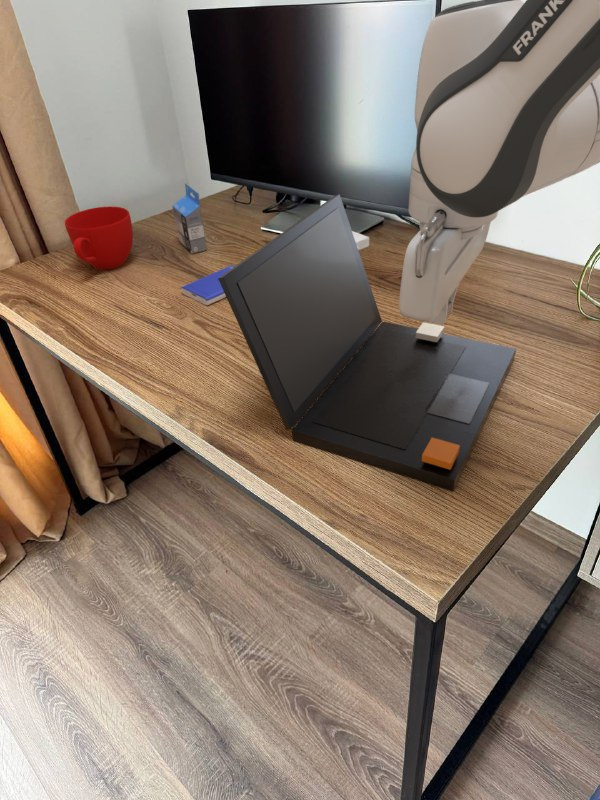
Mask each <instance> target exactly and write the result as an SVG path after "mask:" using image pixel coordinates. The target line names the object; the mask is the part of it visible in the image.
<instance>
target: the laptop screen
mask: <svg viewBox="0 0 600 800" xmlns="http://www.w3.org/2000/svg"><path fill="white" fill-rule="evenodd" d="M352 231H353V230H352V227H351V224H350V221H349V217H348V216H347V212H346V209H345V206H344V203H343V200H342V197H341V194H340V193H338V194H335V195H333V196H332V197H331V198H329V199H328V200H326V201H325V202H324V203H322V204H321V205H319V206H318V207H316V208H315V209H314V210H312V211H311V212H310V213H308V214H307V215H305V216H303V218H301V219H300V220H298V221H297V222H295V223H294V224H292V225H291V226H290V227H288V228H287V229H286V230H284V231H283V232H281V233H280V234H278V235H277V236H276V237H274V238H273V239H272V240H269V242H267V243H265V244H264V245H263V246H261V247H260V248H259V249H257V250H256V251H254V252H253V253H252V254H250V255H249V256H247V257H246V258H245V259H243V260H242V261H240V262H239V263H238V264H236V265H234V266H235V267H233V268H232V269H231V270H229V271H228V272H226V273H225V274H224V275H222V276H221V277H219V278H218V280H219V282H220V284H221V286H222V289H223V291H224V293H225V295H226V297H225V298H226V300H227V302H228V305H229V306H230V309H231V311H232V313H233V315H234V317H235V319H236V322H237V324H238V326H239V329H240V330H241V333H242V335H243V337H244V340H245V342H246V344H247V347H248V349H249V350H250V353H251V355H252V357H253V359H254V361H255V364H256V366H257V368H258V371H259V373H260V375H261V377H262V379H263V381H264V385H265V386H266V388H267V391H268V393H269V395H270V397H271V399H272V401H273V403H274V406H275V408H276V411H277V413H278V415H279V417H280V419H281V421H282V424H283V426H284V428H285V430H286V431H292V429H293V428H294V427H295V426H296V424H297V423H298V422H299V421H300V420H301V418H302V417H303V416H304V415H305V414H306V412H307V411H308V410H309V409H310V408H311V407H312V405H313V404H314V403H315V402H316V401H317V399H318V398H319V397H320V396H321V395H322V393H323V392H324V391H325V390H326V389H327V387H328V386H329V385H330V384H331V383H332V381H333V380H334V379H335V378H336V377H337V376H338V374H339V373H340V372H341V371H342V370H343V368H344V367H345V366H346V365H347V364H348V362H349V361H350V360H351V359H352V358H353V356H354V355H355V354H356V353H357V352H358V350H359V349H360V348H361V347H362V346H363V345H364V343H365V342H366V341H367V340H368V339H369V337H370V336H371V335H372V334H373V333H374V331H375V330H376V329H377V328H378V327H379V325H380V324H381V323H382V322H383V320H382V317H381V315H380V311H379V308H378V304H377V301H376V299H375V295H374V293H373V290H372V288H371V287H372V286H371V284H370V281H369V278H368V274H367V271H366V269H365V265H364V263H363V260H362V257H361V254H360V250H358V248H357V245H356V242H355V239H354V236H353V233H352Z"/></svg>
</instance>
